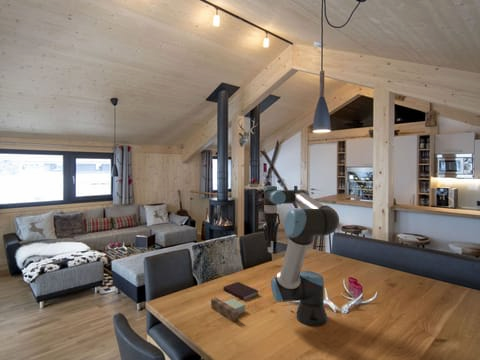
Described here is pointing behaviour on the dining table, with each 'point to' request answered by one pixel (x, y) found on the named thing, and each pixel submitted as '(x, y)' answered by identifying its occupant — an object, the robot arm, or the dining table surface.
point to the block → (236, 305)
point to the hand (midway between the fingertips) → (270, 252)
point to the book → (241, 291)
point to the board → (225, 309)
